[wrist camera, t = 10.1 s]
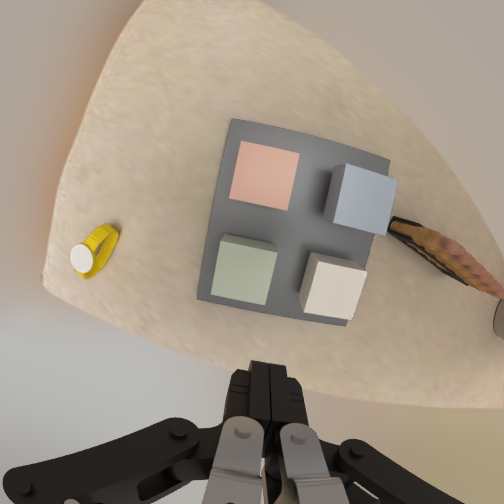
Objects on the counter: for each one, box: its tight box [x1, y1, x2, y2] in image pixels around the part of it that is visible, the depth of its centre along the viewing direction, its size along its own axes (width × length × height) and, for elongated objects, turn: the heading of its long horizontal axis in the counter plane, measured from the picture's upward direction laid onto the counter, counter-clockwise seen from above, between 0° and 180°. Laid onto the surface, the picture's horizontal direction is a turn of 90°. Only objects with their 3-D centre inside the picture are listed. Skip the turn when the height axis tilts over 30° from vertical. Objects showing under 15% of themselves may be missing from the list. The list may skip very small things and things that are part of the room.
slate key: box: [323, 163, 398, 236], centre depth 22 cm, size 5×5×4 cm
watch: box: [70, 224, 119, 279], centre depth 26 cm, size 6×3×6 cm, turn 144°
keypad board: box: [197, 118, 390, 327], centre depth 26 cm, size 16×18×4 cm
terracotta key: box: [229, 141, 300, 211], centre depth 23 cm, size 5×5×4 cm
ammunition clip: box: [387, 216, 504, 299], centre depth 22 cm, size 11×2×12 cm, turn 62°
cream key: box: [298, 252, 367, 320], centre depth 25 cm, size 5×5×4 cm
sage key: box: [211, 234, 278, 305], centre depth 25 cm, size 5×5×4 cm
